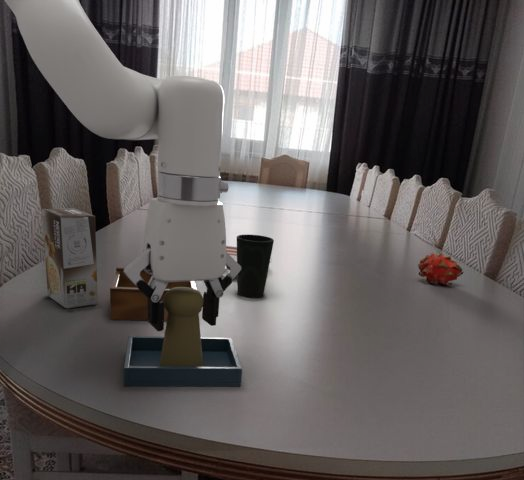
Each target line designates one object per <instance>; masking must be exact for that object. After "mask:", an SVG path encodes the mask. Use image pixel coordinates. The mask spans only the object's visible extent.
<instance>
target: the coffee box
mask: <svg viewBox="0 0 524 480" xmlns="http://www.w3.org/2000/svg"><path fill="white" fill-rule="evenodd" d="M41 219H42V232H43V233H42V235H43V246H44V247H43V249H44V263H45V274H46V288H47V289H46V290H47V296H48V297H49V298H51V299H52V300H53V301H55V302H56V303H57V304H59V305H60V306H62V307H63V308H65V309H72V308H80V307H86V306H95V305H98V303H99V301H98V297H99V294H98V266H97V265H98V264H97V262H98V261H97V234H96V232H97V231H96V229H97V228H96V215H93V214H90V213H88V212H85V211H82V210H79V209H77V208H73V207H72V208H71V207H69V208H68V207H63V208H62V207H61V208H60V207H59V208H56V207H55V208H41Z"/></svg>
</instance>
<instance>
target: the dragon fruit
mask: <svg viewBox="0 0 524 480" xmlns="http://www.w3.org/2000/svg"><path fill="white" fill-rule="evenodd" d="M417 268H418V270H419V271H418V275H419V277H421V278H425V279H426V282H427V283H431V282H432V284H434V285H435V284H443V285H444V286H451V285H453V281H457V280H458V278H459V277H461V276H462V275H463V274H464V271H463V268H462V267H461V266H460V264H458V263H457V261H455V260H452V256H451V255H446V256H444V254H443V253H441V252H438V253H437V254H435V253H432V252H431V253H429V254H428V255H425V257H423V258H422V259H420V260H419V263H418V264H417Z"/></svg>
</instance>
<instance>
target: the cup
mask: <svg viewBox="0 0 524 480" xmlns="http://www.w3.org/2000/svg"><path fill="white" fill-rule="evenodd" d="M274 243H275V240H274V239H273V238H272V237H269V236H267V235H259V234H239V235H237V236H236V247H237V263H238V264H239V265H240V266H241V271H240V272H239V273H238V275H237V276H236V282H237V283H236V287H237V288H236V289H237V292H236V293H237V295H238V296H240V297H243V298H247V299H260V298H263V297H264V294H265V289H266V283H267V279H268V273H269V268H270V264H271V263H270V258H271V259H272V252H273V247H274Z"/></svg>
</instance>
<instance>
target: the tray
mask: <svg viewBox="0 0 524 480" xmlns="http://www.w3.org/2000/svg"><path fill="white" fill-rule="evenodd" d="M163 341H164V336H154V335H153V336H151V335H150V336H149V335H128V336H127V343H126V351H125V358H124V365H123V386H124V387H242V377H243V367H242V364H241V362H240V358H239V355H238V353H237V350H236V347H235V344H234V341H233V338H232V337H208V336H207V337H202V336H201V347H202V358H203V367H165V366H160V359H161V353H162V347H163Z"/></svg>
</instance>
